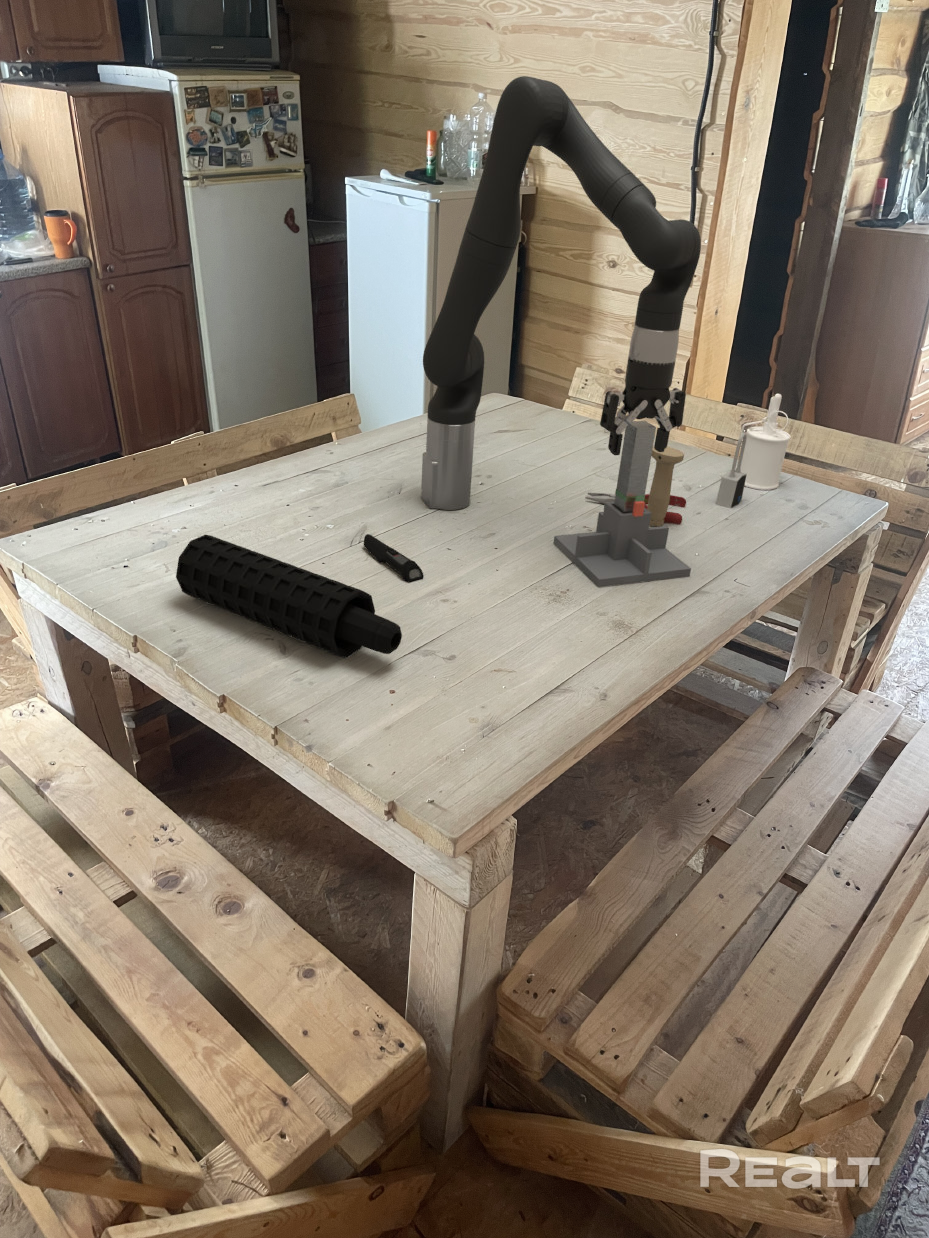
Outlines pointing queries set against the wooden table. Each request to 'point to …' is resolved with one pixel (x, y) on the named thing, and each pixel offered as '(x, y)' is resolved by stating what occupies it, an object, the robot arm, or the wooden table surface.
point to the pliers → (669, 517)
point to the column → (634, 465)
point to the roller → (284, 598)
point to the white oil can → (765, 450)
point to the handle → (662, 483)
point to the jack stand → (623, 549)
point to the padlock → (733, 480)
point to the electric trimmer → (393, 559)
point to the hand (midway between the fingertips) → (636, 452)
